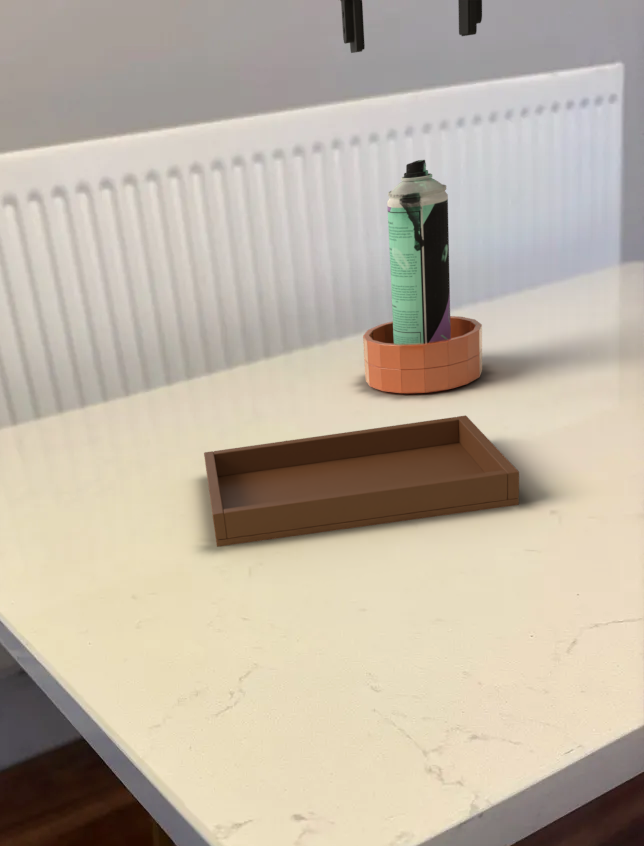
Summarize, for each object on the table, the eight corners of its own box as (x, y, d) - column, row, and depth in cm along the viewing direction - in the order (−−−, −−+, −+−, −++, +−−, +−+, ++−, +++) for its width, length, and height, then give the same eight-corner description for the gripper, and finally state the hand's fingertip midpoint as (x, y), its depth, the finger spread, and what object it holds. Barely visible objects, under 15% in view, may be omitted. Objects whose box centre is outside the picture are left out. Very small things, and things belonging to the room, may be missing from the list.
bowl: (464, 358, 108) (463, 310, 105) (495, 386, 98) (495, 334, 95) (357, 373, 108) (354, 326, 106) (378, 403, 98) (376, 351, 96)
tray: (466, 445, 85) (466, 415, 84) (519, 506, 73) (519, 471, 72) (207, 481, 85) (203, 452, 84) (217, 548, 73) (212, 514, 72)
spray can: (457, 379, 100) (453, 158, 91) (401, 386, 100) (391, 167, 91) (444, 365, 105) (439, 154, 96) (391, 372, 105) (380, 163, 96)
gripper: (499, -205, 85) (498, 30, 92) (290, -172, 85) (308, 59, 93) (528, -229, 78) (525, 26, 86) (302, -193, 78) (320, 57, 86)
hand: (412, 43), depth 89 cm, fingers open, 9 cm apart
